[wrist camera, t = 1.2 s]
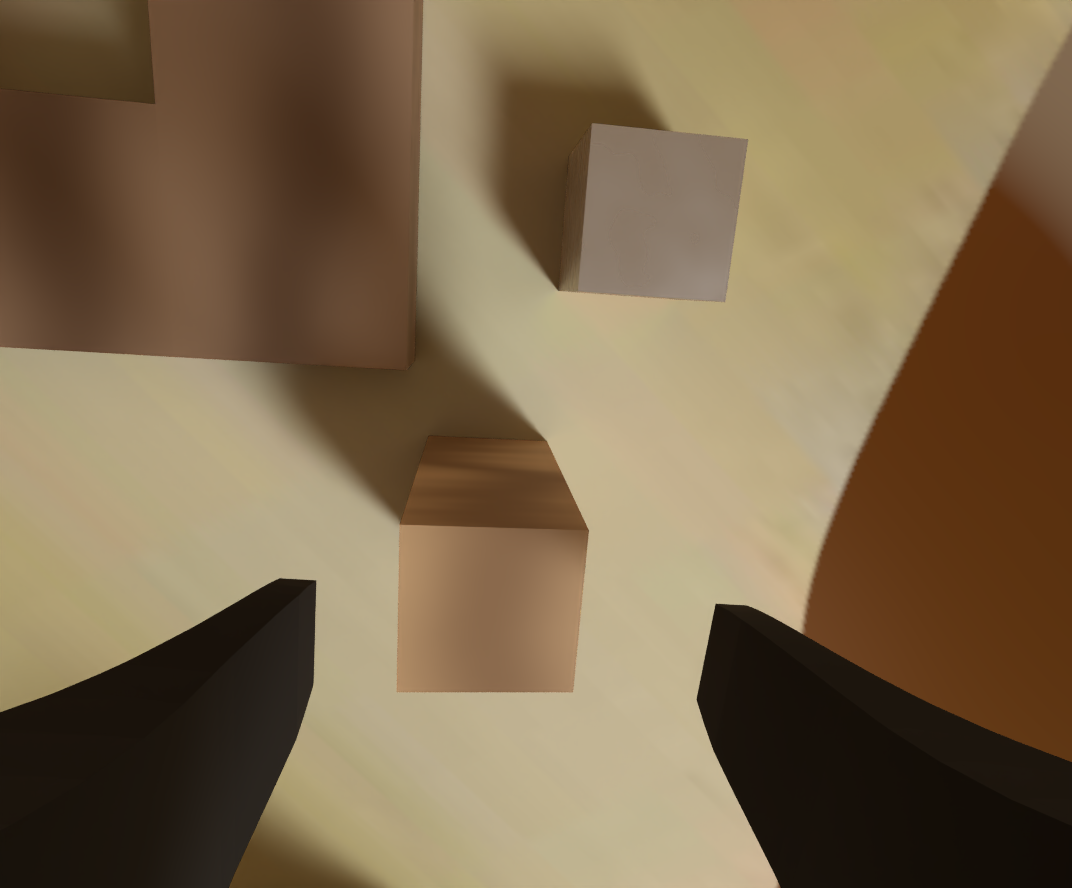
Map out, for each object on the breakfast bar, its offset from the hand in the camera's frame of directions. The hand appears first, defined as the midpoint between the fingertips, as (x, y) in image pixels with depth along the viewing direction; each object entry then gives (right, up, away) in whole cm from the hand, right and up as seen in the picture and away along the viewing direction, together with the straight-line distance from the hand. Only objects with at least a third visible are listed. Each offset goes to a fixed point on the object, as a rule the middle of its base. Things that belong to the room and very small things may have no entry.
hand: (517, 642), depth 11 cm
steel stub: (+3, +10, +9) cm, 14 cm away
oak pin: (-1, +2, +10) cm, 10 cm away
